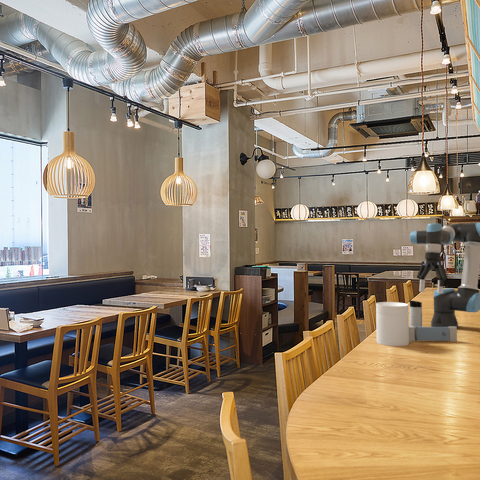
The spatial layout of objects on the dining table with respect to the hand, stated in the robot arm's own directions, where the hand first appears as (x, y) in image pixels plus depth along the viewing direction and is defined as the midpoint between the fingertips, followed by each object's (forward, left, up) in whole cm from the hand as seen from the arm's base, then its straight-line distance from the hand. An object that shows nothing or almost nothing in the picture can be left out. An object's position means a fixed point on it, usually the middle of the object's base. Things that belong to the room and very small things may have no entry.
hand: (430, 292), depth 234 cm
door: (0, +2, -25) cm, 25 cm away
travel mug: (+5, -9, -26) cm, 28 cm away
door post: (+11, +1, -25) cm, 28 cm away
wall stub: (-10, +1, -25) cm, 27 cm away
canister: (+21, +5, -26) cm, 34 cm away
